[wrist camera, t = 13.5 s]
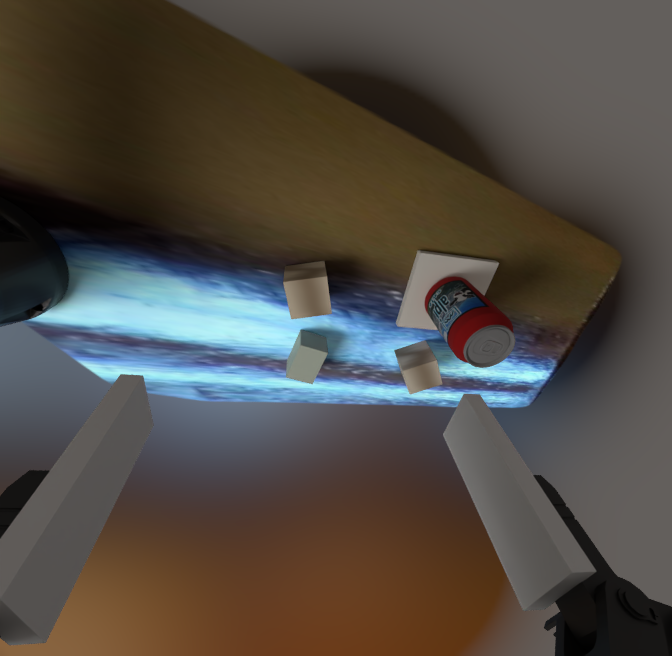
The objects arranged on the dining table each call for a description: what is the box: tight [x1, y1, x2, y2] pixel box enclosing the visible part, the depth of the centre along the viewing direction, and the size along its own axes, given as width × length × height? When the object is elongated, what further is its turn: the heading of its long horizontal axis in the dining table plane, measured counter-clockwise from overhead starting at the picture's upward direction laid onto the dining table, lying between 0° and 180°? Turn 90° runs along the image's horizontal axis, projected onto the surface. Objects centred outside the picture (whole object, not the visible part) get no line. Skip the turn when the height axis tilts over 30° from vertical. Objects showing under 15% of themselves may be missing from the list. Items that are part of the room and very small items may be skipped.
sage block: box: [286, 330, 328, 384], centre depth 46 cm, size 4×6×4 cm, turn 157°
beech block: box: [283, 261, 332, 319], centre depth 39 cm, size 5×5×5 cm
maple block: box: [394, 340, 442, 394], centre depth 48 cm, size 5×5×5 cm
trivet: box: [396, 250, 499, 330], centre depth 44 cm, size 11×11×1 cm
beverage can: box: [425, 276, 515, 368], centre depth 38 cm, size 7×7×12 cm
